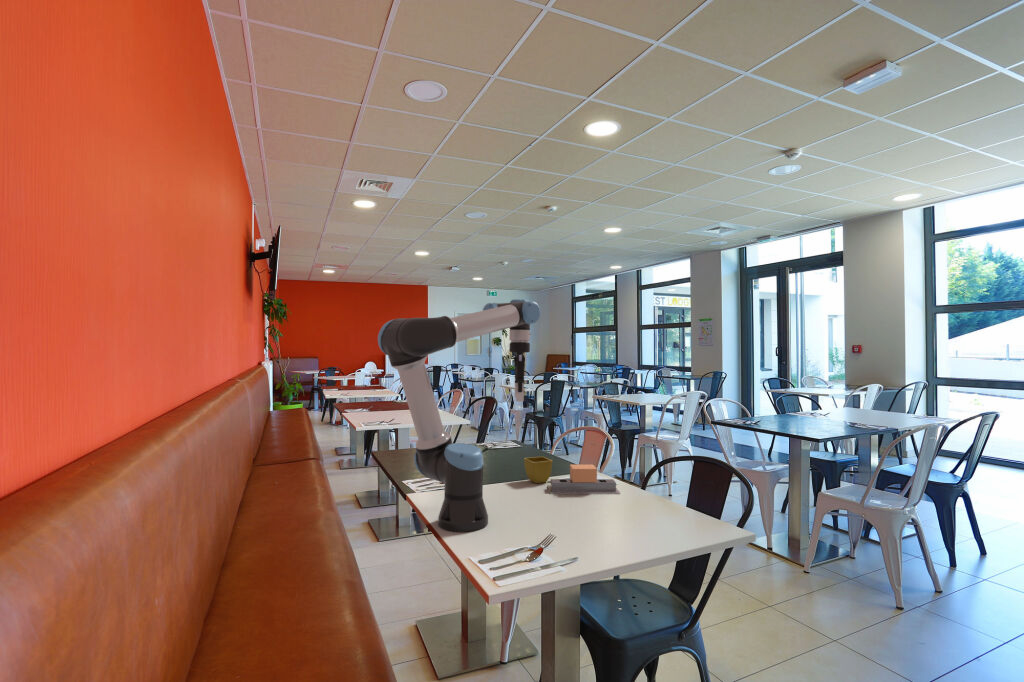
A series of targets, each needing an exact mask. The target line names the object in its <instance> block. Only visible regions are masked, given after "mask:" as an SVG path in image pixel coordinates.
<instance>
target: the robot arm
mask: <svg viewBox="0 0 1024 682" xmlns="http://www.w3.org/2000/svg"><path fill="white" fill-rule="evenodd" d="M540 318H541V308H540V306H539V304H538V303H537V302H535V301H533V300H528V299H518V298H517V299H511V300H510V301H509V302H504V303H503V302H500V303H497V302H488V303H486V304H485V305H484V307H483V308H482V310H480V311H476V312H472V313H468V314H463V315H458V316H454V317H450V316H447V315H443V316H437V317H410V318H409V317H408V318H404V317H403V318H402V317H401V318H400V317H398V318H395V319H391V320H388V321H387V322H385V323H384V324H383V325H382V327H380V330H379V331H378V334H377V345H378V347H379V349H380V350H381V352H382V353H384V354H385V355H387V357H388V359H389V363H390V367H391V368H393V369H395V370H396V371H397V372H398V375H399V378H400V379H399V380H400V382H401V383H400V384H401V385H402V388H403V392H404V397H405V399H406V402H407V406H408V409H409V412H410V415H411V418H412V422H413V426H414V429H415V433H416V437H417V441H416V442H415V445H414V446H415V453H414V456H413V461H414V465H415V468H416V470H417V471H418V472H419V473H420V474H421V475H423V476H424V477H426V478H427V479H430V480H435V481H437V482H440V483H442V484H444V490H443V491H444V497H443V502H442V504H441V507H440V510H439V513H438V517H437V519H438V523H437V524H438V526H439V527H440V528H441V529H443V530H446V531H450V532H456V533H457V532H459V533H461V532H463V533H465V532H467V533H468V532H474V531H478V530H481V529H483V528H485V527H487V526H488V524H489V514H488V511H487V508H486V504H485V501H484V497H483V489H484V488H483V486H484V485H483V484H484V482H483V481H484V464H485V463H484V455H483V454H484V453H483V451H482V449H481V448H480V447H478V446H476V445H474V444H470V443H465V442H455V443H453V439H452V436H451V433H449V432H448V431H446V430H444V425H443V423H442V420H441V416H440V412H439V409H438V405H437V401H436V398H435V394H434V391H433V387H432V385H431V380H430V377H429V374H428V370H427V366H426V363H425V362H426V360H427V359H428V357H429V356H428V355H431V354H434V353H437V352H440V351H443V350H444V351H445V350H446V349H450V348H453V347H455V345H456V344H457V343H459V342H462V341H466V340H471V339H474V338H476V337H477V338H478V337H481V336H485V335H487V334H491V333H495V332H499V331H502V330H507V329H509V335H508V336H509V341H510V342H509V346H508V347H509V352H510V353H516V354H515V355H514V357H513V362H514V363H513V364H514V398H515V402H524V401H525V400H524V399H525V393H524V392H525V391H524V390H525V384H524V383H525V367H526V365H525V363H526V357H525V355H524V353H530V349H531V344H530V342H529V341H530V339H531V336H532V332H530V330H531V324H532V325H533V324H535V323H537V322H538V321H539V320H540Z"/></svg>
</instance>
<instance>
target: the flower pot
mask: <svg viewBox="0 0 1024 682" xmlns="http://www.w3.org/2000/svg"><path fill="white" fill-rule="evenodd" d="M523 461H524V469H525V473H526V476H527V478H528V480H529V481H530V482H531V483H534V484H543V483H546V482H548V480H549V479H550V477H551V474H552V470H553V469H552V468H553V467H552V466H553V459H550V458H547V457H545V456H534V457H533V456H532V457H524V458H523Z"/></svg>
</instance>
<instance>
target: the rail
mask: <svg viewBox="0 0 1024 682" xmlns="http://www.w3.org/2000/svg"><path fill="white" fill-rule="evenodd" d="M546 487H547V490H548V493H549V494H550V495H605V494H607V495H621V492H620V491H619V490H618V488H617V482H616V481H615V480H614V479H613V478H609V479H605V478H600V479H599V478H597V482H572V480H571V479H569V478H559V479H558V478H557V479H553V478H552V479H550V485H549V484H548V485H546Z"/></svg>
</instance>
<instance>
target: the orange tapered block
mask: <svg viewBox="0 0 1024 682" xmlns="http://www.w3.org/2000/svg"><path fill="white" fill-rule="evenodd" d="M569 478H570V479H571V480H572V482H597V479H598V468H597V467H596V466H595V465H594V464H569Z"/></svg>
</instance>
